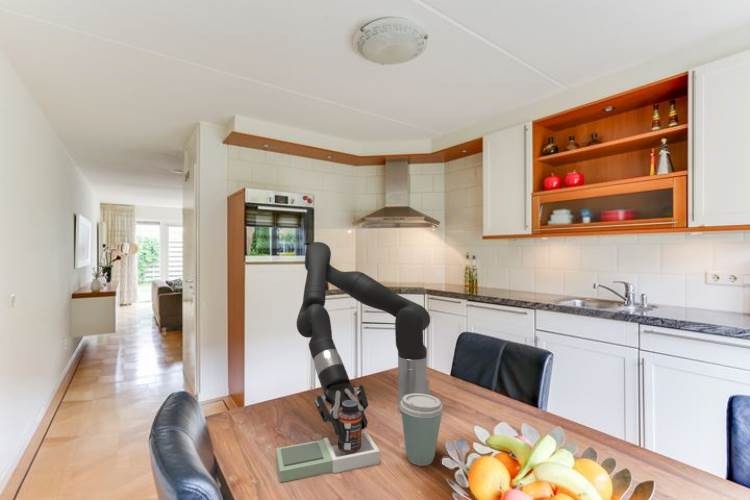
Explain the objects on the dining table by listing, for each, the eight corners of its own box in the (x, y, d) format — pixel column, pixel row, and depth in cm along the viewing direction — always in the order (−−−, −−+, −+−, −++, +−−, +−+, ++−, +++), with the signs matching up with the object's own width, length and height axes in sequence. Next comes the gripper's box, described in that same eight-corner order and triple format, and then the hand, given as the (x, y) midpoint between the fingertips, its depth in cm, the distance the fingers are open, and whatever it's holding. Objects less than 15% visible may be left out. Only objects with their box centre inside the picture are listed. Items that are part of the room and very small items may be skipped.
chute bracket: (366, 441, 98) (366, 430, 98) (379, 463, 88) (379, 451, 88) (323, 449, 94) (323, 438, 94) (333, 473, 84) (333, 460, 84)
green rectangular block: (324, 449, 94) (324, 437, 94) (333, 471, 85) (333, 458, 85) (276, 458, 90) (276, 446, 90) (280, 482, 81) (280, 469, 81)
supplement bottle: (352, 457, 88) (352, 410, 88) (332, 450, 91) (332, 404, 91) (366, 445, 93) (366, 401, 93) (347, 439, 96) (347, 396, 96)
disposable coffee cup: (415, 442, 97) (414, 386, 97) (451, 457, 91) (451, 396, 91) (391, 460, 89) (390, 399, 89) (429, 478, 82) (429, 411, 82)
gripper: (348, 372, 106) (371, 430, 97) (302, 382, 98) (322, 446, 88) (358, 358, 102) (383, 417, 92) (310, 368, 94) (332, 434, 84)
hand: (353, 431), depth 90 cm, fingers closed on supplement bottle, 6 cm apart
